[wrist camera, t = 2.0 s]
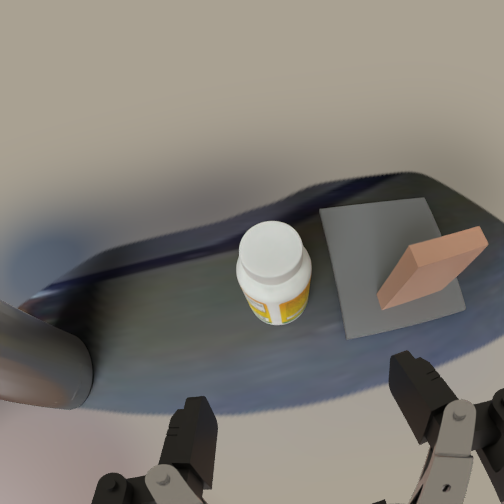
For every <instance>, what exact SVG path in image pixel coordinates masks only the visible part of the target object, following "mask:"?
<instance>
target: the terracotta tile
mask: <svg viewBox="0 0 504 504" xmlns="http://www.w3.org/2000/svg"><path fill="white" fill-rule="evenodd" d="M488 245H489V244H488V242H487V240H486V238H485V236H484V234H483V232H482V230H481V228H480V226H478V227H474V228H471V229H467V230H464V231H460V232H457V233H453V234H449V235H446V236H442V237H438V238H435V239H431V240H427V241H424V242H420V243H416V244H412V245H409V246H408V248H407V249H406V251H405V253H404V254H403V256H402V257H401V259H400V260H399V262H398V263H397V265H396V266H395V268H394V269H393V271H392V272H391V274H390V275H389V277H388V278H387V280H386V281H385V283H384V284H383V286H382V287H381V288H380V290H379V291H378V293H377V297H378V300H379V303H380V307H381V310H384V309H387V308H390V307H394V306H397V305H400V304H403V303H406V302H409V301H412V300H415V299H418V298H421V297H424V296H426V295H429V294H432V293H435V292H438V291H440V290H442V289H443V288H445V287H446V286H447V285H448V284H449V283H450V282H451V281H452V280H453V279H454V278H456V277H457V276H458V275H459V274H460V273H461V272H462V271H463V270H464V269H465V268H466V267H467V266H468V265H469V264H470V263H471V262H472V261H473V260H474V259H475V258H476V257H477V256H478V255H479V254H480V253H481V252H482V251H483V250H484V249H485V248H486V247H487V246H488Z"/></svg>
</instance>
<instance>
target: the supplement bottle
mask: <svg viewBox="0 0 504 504" xmlns="http://www.w3.org/2000/svg"><path fill="white" fill-rule="evenodd" d="M311 271H312V266H311V260H310V256H309V254H308V252H307V250H306V249H305V248H304V246H303V244H302V240H301V238H300V236H299V234H298V233H297V231H296V230H295V229H294V228H292V227H291V226H289V225H287V224H285V223H283V222H278V221H266V222H262V223H259V224H257V225H255V226H253V227H252V228H250V229H249V230H248V231H247V232H246V233H245V235H244V236H243V238H242V240H241V242H240V246H239V258H238V261H237V267H236V272H237V278H238V282H239V284H240V286H241V288H242V290H243V293H244V295H245V297H246V299H247V301H248V303H249V305H250V307H251V309H252V311H253V312H254V314H255V315H256V316H257V317H258V318H259V319H260V320H262V321H264V322H266V323H268V324H272V325H283V324H287V323H290V322H292V321H293V320H295V319H296V318H298V317H299V316H300V315H301V314H302V312H303V311H304V309H305V308H306V305H307V302H308V295H309V287H310V280H311Z"/></svg>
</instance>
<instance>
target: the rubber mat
mask: <svg viewBox="0 0 504 504" xmlns="http://www.w3.org/2000/svg"><path fill="white" fill-rule="evenodd" d="M319 213H320V217H321V221H322V225H323V229H324V233H325V237H326V242H327V246H328V250H329V255H330V259H331V263H332V268H333V273H334V277H335V282H336V287H337V292H338V297H339V302H340V307H341V313H342V318H343V324H344V329H345V335H346V340H348V339H353V338H358V337H363V336H368V335H373V334H378V333H382V332H387V331H391V330H395V329H399V328H404V327H408V326H412V325H415V324H419V323H423V322H427V321H430V320H434V319H437V318H441V317H444V316H448V315H451V314H454V313H457V312H461V311H464V310H465V309H466V307H465V303H464V300H463V296H462V293H461V289H460V286H459V283H458V280H457V277H456V278H454V279H453V280H452V281H451V282H450V283H449V284H448V285H447V286H446V287H445V288H443V289H442V290H440V291H438V292H435V293H432V294H429V295H426V296H424V297H421V298H418V299H415V300H412V301H409V302H406V303H403V304H400V305H397V306H394V307H390V308H387V309H384V310H381V307H380V303H379V300H378V297H377V293H378V291H379V290H380V288H381V287H382V286H383V284H384V283H385V281H386V280H387V278H388V277H389V275H390V274H391V272H392V271H393V269H394V268H395V266H396V265H397V263H398V262H399V260H400V259H401V257H402V256H403V254H404V253H405V251H406V249H407V248H408V246H409V245H412V244H416V243H420V242H424V241H427V240H431V239H435V238H438V237H442V236H441V233H440V231H439V229H438V226H437V224H436V222H435V219H434V217H433V215H432V213H431V210H430V208H429V206H428V204H427V202H426V200H425V198H413V199H403V200H393V201H384V202H375V203H366V204H357V205H349V206H340V207H332V208H324V209H320V210H319Z"/></svg>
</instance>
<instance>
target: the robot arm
mask: <svg viewBox="0 0 504 504" xmlns="http://www.w3.org/2000/svg"><path fill="white" fill-rule="evenodd" d="M92 377H93V374H92V363H91V358H90V355H89V352H88V350H87V348H86V346H85V345H84V343H83V342H82V341H81V340H80V339H79V338H78V337H76V336H75V335H72V334H70V333H68V332H65V331H63V330H61V329H58V328H56V327H54V326H52V325H50V324H48V323H46V322H43V321H41V320H39V319H37V318H35V317H33V316H31V315H29V314H27V313H25V312H23V311H21V310H19V309H17V308H15V307H13V306H11V305H9V304H7V303H6V302H4V301H2V300H0V400H4V401H9V402H14V403H20V404H26V405H32V406H39V407H47V408H55V409H66V410H72V409H75V408H77V407H79V406H80V405H82V403H83V402H84V401H85V400H86V398H87V396H88V394H89V392H90V388H91V385H92ZM389 388H390V391H391V393H392V395H393V397H394V399H395V400H396V402H397V404H398V406H399V407H400V409H401V411H402V413H403V415H404V416H405V418H406V420H407V422H408V424H409V426H410V428H411V430H412V432H413V433H414V435H415V437H416V439H417V441H418V443H419V444H420V445H421V444H423V443H425V442H427V441H428V443H429V445H430V448H429V451H428V454H427V457H426V461H425V464H424V467H423V470H422V473H421V476H420V478H419V481H418V484H417V486H416V488H415V490H414V492H413V495H412V497H411V499H410V501H409V503H408V504H463V501H464V498H465V494H466V491H467V486H468V483H469V478H470V474H471V469H472V465H473V456H471V451H473V450H476V452H477V454H478V456H479V458H480V460H481V462H482V464H483V466H484V468H485V470H486V472H487V474H488V476H489V478H490V480H491V482H492V484H493V486H494V488H495V490H496V492H497V495H498V497H499V500H500V502H501V504H504V388H503V389H500V390H499V391H497V392H496V393H495V395H494V396H493V399H492V400H490V401H487V402H483V403H479V404H472V403H471V402H469V401H467V400H459V399H458V398H457V397H456V395H455V394H454V393H453V391H452V390H451V389H450V388H449V386H448V385H447V384H446V382H445V381H444V380H443V379H442V378H441V377H440V375H439V374H438V372H437V371H435V369H434V367H433V366H432V365H431V364H430V362H428V361H426V360H424V359H422V358H421V357H419V358H417V359H415V358H414V357H413V356H412V355H411V353H410V352H409V351H407V350H406V351H404V352H401V353H398V354H395V355H392V356H391V358H390V370H389ZM217 432H218V425H217V420H216V417H215V415H214V413H213V411H212V409H211V407H210V405H209V403H208V401H207V399H206V397H205V396H200V397H188V398H187V399H186V402H185V406H184V409H178V410H177V411H176V412H175V414H174V415H173V416H172V417H171V420H170V424H169V429H168V431H167V434H166V435H167V436H166V438H165V442H164V446H163V449H162V453H161V457H160V460H159V464H158V465H157V466H154V467H153V468H151V469H150V470H149V471H148V472H147V474H146V475H145V476H140V477H135V478H129V479H125V478H124V477H123V476H122V475H121V474H118V473H108V474H106V475H104V476H103V477H101V479H100V480H99V481H98V484H97V487H96V490H95V494H94V497H93V500H92V503H91V504H207V502H206V501H205V500H204V499H203V498H202V494H203V489H212V481H213V471H214V460H215V451H216V441H217ZM373 504H386V501H385V499H384V500H382V501H379V502H376V503H373Z"/></svg>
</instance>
